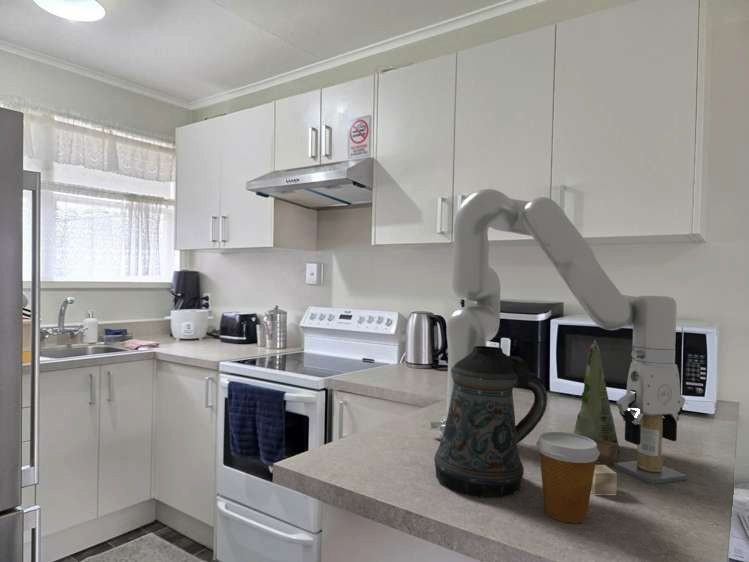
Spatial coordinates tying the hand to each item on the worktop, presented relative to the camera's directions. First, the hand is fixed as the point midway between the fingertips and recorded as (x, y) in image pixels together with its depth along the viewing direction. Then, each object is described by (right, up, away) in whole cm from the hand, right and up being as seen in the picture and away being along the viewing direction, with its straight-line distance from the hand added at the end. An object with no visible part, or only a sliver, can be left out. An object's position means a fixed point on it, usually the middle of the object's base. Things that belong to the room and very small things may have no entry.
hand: (650, 440), depth 97 cm
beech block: (-15, -6, -10) cm, 19 cm away
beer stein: (-35, -5, -6) cm, 36 cm away
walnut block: (-7, -7, +6) cm, 11 cm away
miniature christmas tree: (-5, -7, +15) cm, 17 cm away
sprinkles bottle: (0, -6, 0) cm, 6 cm away
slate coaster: (0, -7, 0) cm, 6 cm away
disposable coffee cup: (-25, -6, -20) cm, 32 cm away
